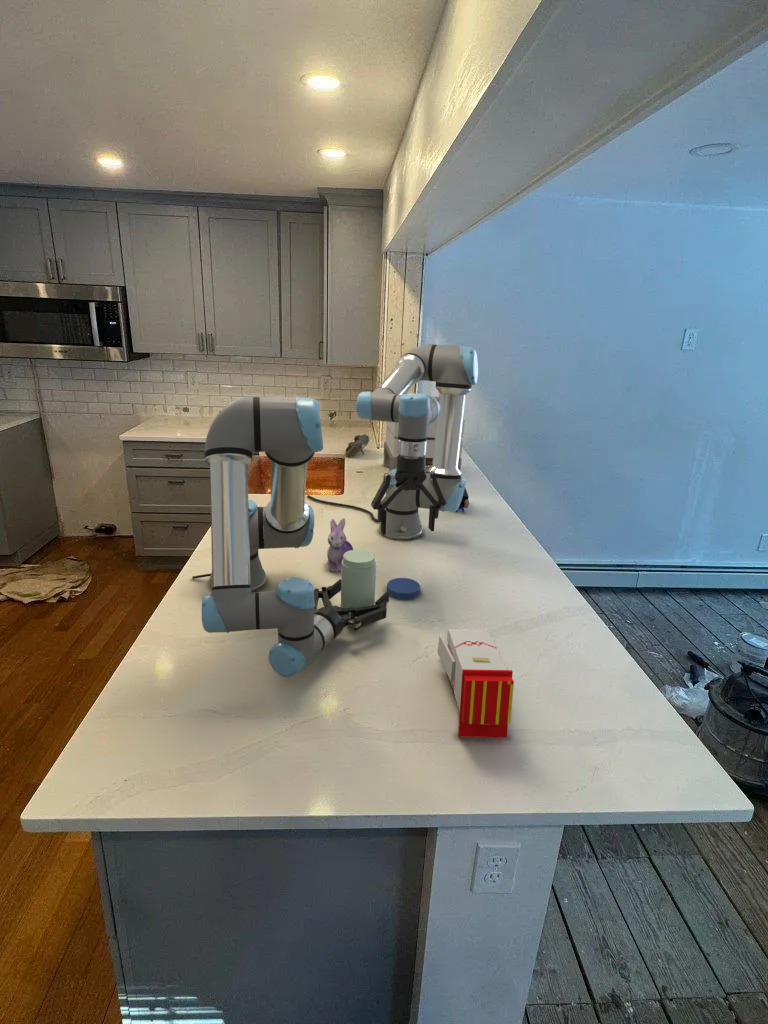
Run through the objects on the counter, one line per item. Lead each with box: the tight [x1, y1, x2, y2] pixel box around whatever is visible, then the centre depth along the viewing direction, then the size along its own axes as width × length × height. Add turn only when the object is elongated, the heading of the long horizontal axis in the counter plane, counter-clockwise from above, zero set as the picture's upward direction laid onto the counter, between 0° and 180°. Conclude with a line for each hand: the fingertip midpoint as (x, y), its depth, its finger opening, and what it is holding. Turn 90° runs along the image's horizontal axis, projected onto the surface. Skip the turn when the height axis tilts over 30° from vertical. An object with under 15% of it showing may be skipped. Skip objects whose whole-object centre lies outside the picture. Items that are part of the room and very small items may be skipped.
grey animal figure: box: [344, 433, 370, 458], centre depth 304 cm, size 22×10×15 cm
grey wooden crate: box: [383, 392, 465, 473], centre depth 268 cm, size 34×33×41 cm
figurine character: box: [455, 487, 470, 513], centre depth 227 cm, size 7×8×15 cm
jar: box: [340, 549, 377, 617], centre depth 142 cm, size 9×9×17 cm
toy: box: [437, 628, 515, 738], centre depth 117 cm, size 12×13×30 cm
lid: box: [386, 577, 421, 601], centre depth 159 cm, size 9×9×2 cm
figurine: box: [326, 517, 354, 572], centre depth 171 cm, size 9×10×15 cm
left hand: (364, 590), depth 146 cm, fingers open, 13 cm apart
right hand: (407, 531), depth 154 cm, fingers open, 13 cm apart
